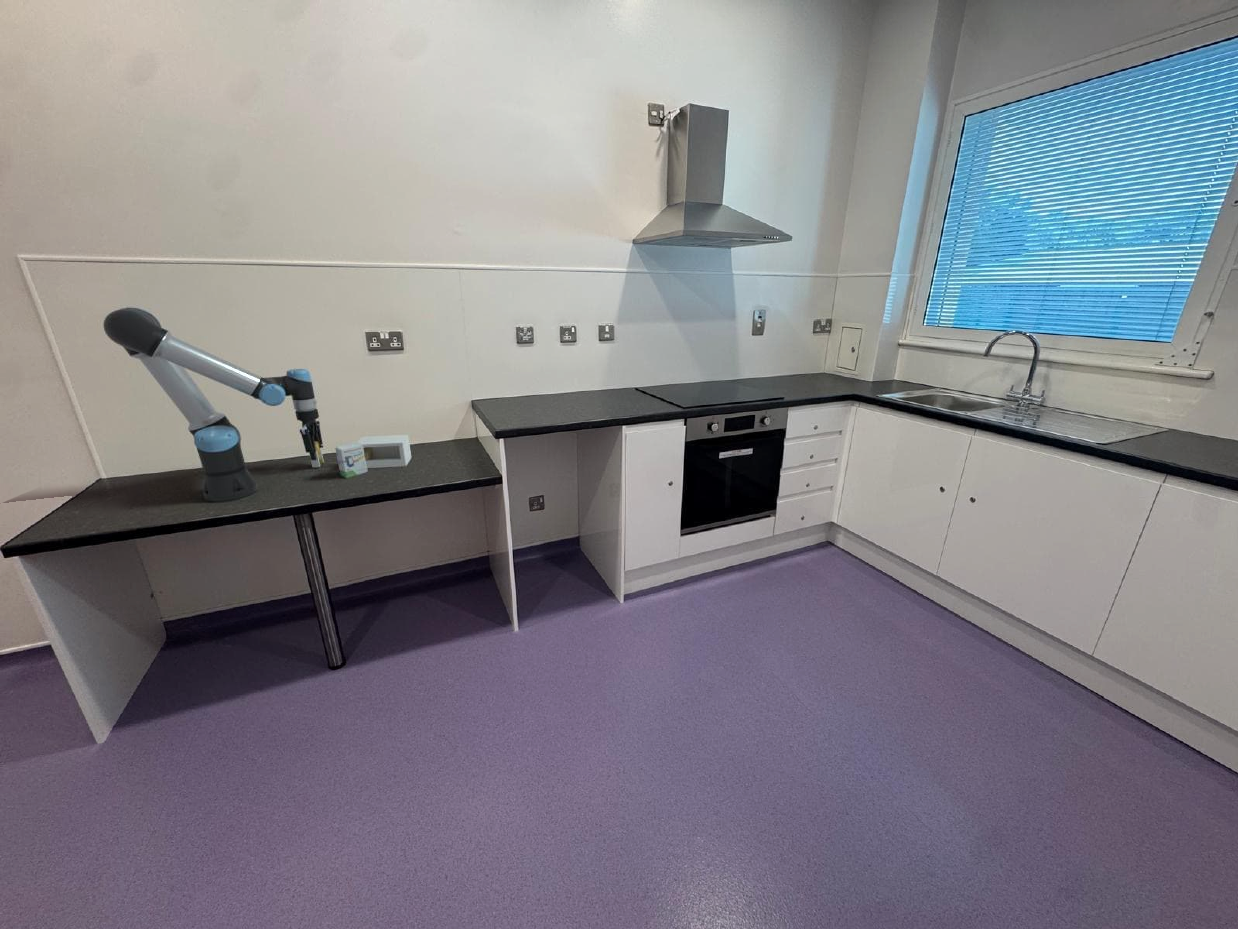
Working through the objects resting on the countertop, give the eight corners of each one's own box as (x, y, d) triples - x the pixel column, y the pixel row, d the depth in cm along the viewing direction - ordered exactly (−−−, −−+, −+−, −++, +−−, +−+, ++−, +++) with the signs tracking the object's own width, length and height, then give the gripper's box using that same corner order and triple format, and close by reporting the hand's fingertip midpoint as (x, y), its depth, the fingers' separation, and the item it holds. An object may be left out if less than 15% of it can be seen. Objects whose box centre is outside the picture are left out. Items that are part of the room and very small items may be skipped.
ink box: (361, 469, 198) (356, 441, 194) (368, 472, 196) (363, 444, 191) (339, 475, 192) (334, 446, 188) (346, 478, 189) (340, 449, 185)
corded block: (311, 468, 198) (306, 445, 195) (317, 463, 204) (312, 440, 200) (370, 465, 202) (366, 442, 198) (374, 460, 207) (370, 438, 204)
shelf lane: (357, 468, 199) (353, 444, 195) (365, 459, 209) (361, 436, 206) (405, 466, 202) (402, 442, 199) (411, 457, 212) (408, 434, 209)
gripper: (308, 414, 186) (320, 471, 194) (324, 404, 201) (335, 458, 209) (286, 414, 185) (299, 472, 193) (304, 404, 200) (316, 459, 208)
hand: (318, 465), depth 201 cm, fingers closed on corded block, 3 cm apart
